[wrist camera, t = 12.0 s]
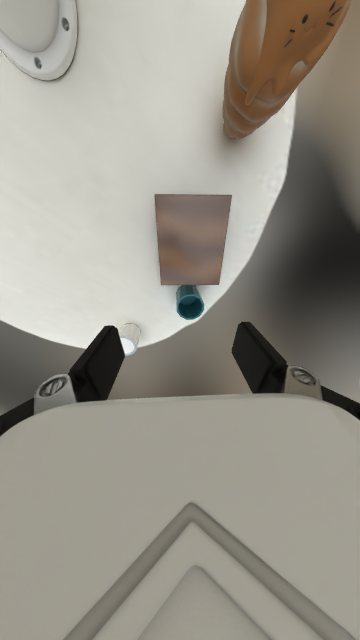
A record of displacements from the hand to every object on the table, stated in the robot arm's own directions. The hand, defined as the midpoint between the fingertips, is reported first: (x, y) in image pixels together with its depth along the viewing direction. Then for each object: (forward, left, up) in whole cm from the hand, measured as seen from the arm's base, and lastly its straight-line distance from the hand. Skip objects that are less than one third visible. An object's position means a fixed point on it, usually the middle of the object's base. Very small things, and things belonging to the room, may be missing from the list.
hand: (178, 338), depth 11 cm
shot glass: (+17, -14, -26) cm, 34 cm away
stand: (-6, +3, -26) cm, 27 cm away
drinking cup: (+2, +3, -22) cm, 22 cm away
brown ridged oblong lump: (-23, +10, -26) cm, 36 cm away
